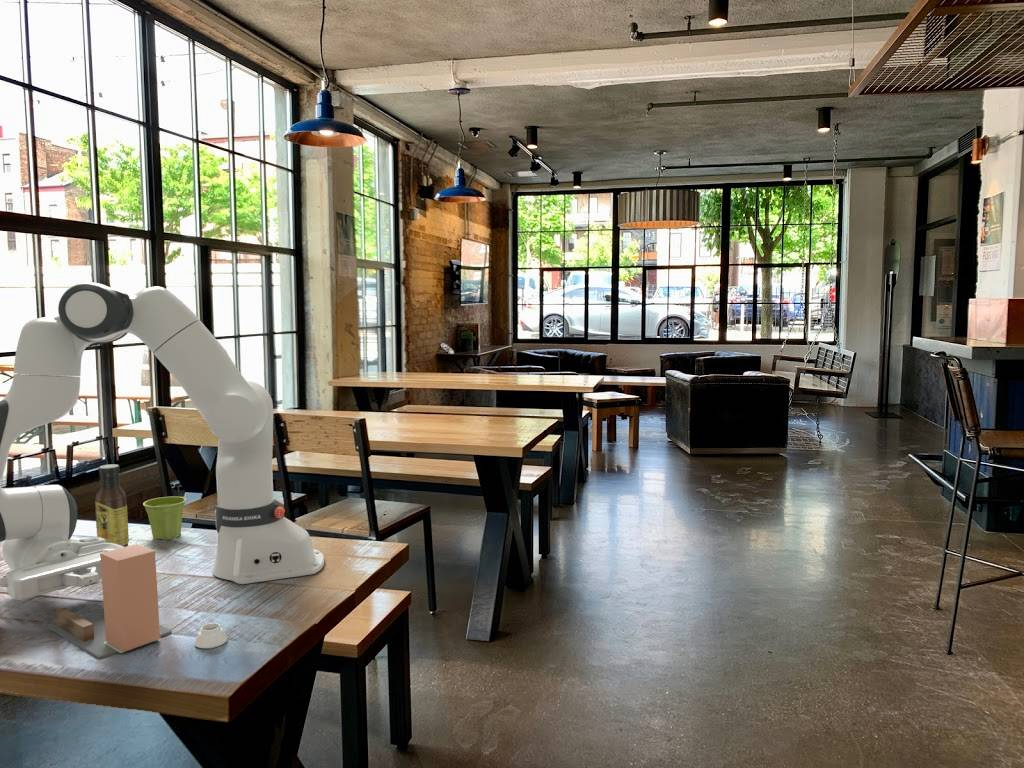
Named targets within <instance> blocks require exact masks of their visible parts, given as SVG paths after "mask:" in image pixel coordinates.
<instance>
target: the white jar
mask: <svg viewBox="0 0 1024 768" xmlns="http://www.w3.org/2000/svg"><path fill="white" fill-rule="evenodd" d="M227 641H228V635H227V634H226V632H225V631H224V628H222V627H221V624H220V623H218V622H211V623H206V624H205V623H204V624H203V625H202V626H201V627H200V629H199V631H198V633H197V635H196V637H195V639H194V646H195V647H197V648H199V649H205V650H206V649H213V648H214V649H215V648H217V647H220V646H222V645H224V644H225V643H227Z"/></svg>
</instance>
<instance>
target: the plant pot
mask: <svg viewBox="0 0 1024 768" xmlns="http://www.w3.org/2000/svg"><path fill="white" fill-rule="evenodd" d="M186 502H187V498H186V497H183V496H163V497H156V498H151V499H148V500H146V501H144V502H143V503H142V506H143V507H144V508H145V512H146V513H147V517H148V520H149V524H150V525H149V526H150V529H151V534H152V535H151V536H152V538H153V539H154V540H159V539H160V540H164V541H165V540H171V539H175V538H177V537H179V536H181V533H182V523H183V513H184V511H183V510H184V508H185V503H186Z"/></svg>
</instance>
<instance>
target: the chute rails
mask: <svg viewBox="0 0 1024 768" xmlns="http://www.w3.org/2000/svg"><path fill="white" fill-rule="evenodd" d="M80 616H81V615H78V614H77V613H75V612H73V611H70V610H69V609H67V608H65V607H63V608H60V609H57V610H54V620H55V621H54V622H55V623H54V624H56V625H57V626H58V627H60V628H62V629H64V630H65V631H67V632H69V633H70V634H72V635H74V636H75V637H77V638H79V639H80V640H82V641H84V642H85V641H88V640H91V639H94V627H93V624H92V623H91V622H89V621H87V620H85V619H83V618H82V617H80Z"/></svg>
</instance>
